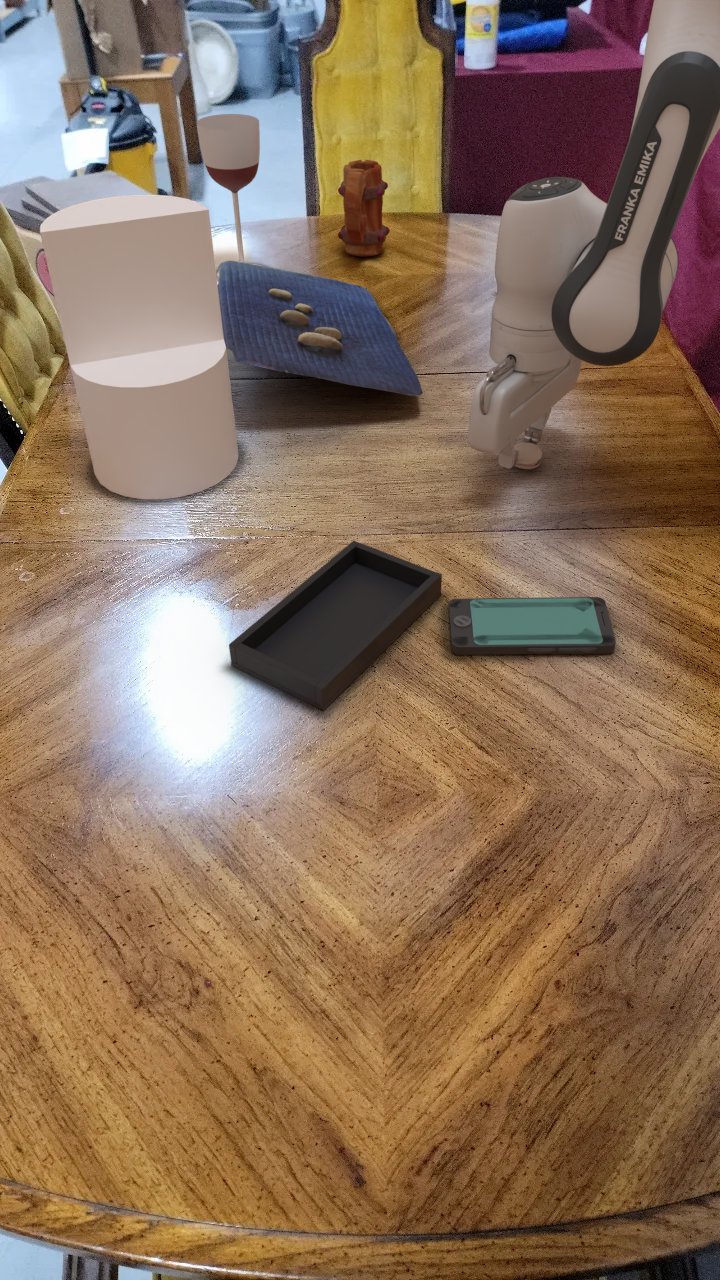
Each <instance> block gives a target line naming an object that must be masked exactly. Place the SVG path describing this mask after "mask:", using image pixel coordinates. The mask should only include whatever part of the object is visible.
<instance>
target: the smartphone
mask: <svg viewBox="0 0 720 1280" xmlns="http://www.w3.org/2000/svg"><path fill="white" fill-rule="evenodd" d="M448 618H449V619H448V621H449V632H450V644H451V645H450V647H451V652H452V653H453V654H455V655H458V656H475V655H477V656H478V655H479V656H481V655H482V656H483V655H485V656H487V655H489V656H490V655H493V656H494V655H579V654H580V655H581V654H583V655H584V654H585V655H586V654H587V655H591V654H593V655H594V654H596V655H597V654H600V655H601V654H611V653H614V652H615V649H616V645H617V644H616V643H617V640H616V637H615V633H614V632H615V631H614V629H613V625H612V622H611V618H610V614H609V611H608V606H607V602H606V600H605V599H604V598H602V597H600V596H572V597H571V596H569V597H568V596H566V597H560V596H559V597H558V596H557V597H556V596H555V597H487V598H484V597H483V598H482V597H481V598H479V597H478V598H477V597H476V598H475V597H473V598H452V599H450V600H449V601H448Z"/></svg>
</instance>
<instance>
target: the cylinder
mask: <svg viewBox="0 0 720 1280" xmlns="http://www.w3.org/2000/svg"><path fill="white" fill-rule="evenodd" d="M211 226H212V225H211V218H210V209H209V208H208V207H206V206H205V205H203V204H202V203H201V202H198V201H194V200H192V199H189V198H184V197H179V196H174V195H166V194H165V195H163V194H128V195H127V194H126V195H116V196H109V197H103V198H96V199H91V200H87V201H85V202H79V203H76V204H72V205H70V206H67V207H65V208H62V209H60V210H57V211H56V212H54V213H52V214H51V215H49V216H47V217H46V218H45V219H44V220H43V222H42V223H41V224H40V226H39V236H40V239H41V244H42V249H43V253H44V257H45V262H46V265H47V270H48V274H49V278H50V283H51V287H52V293H53V297H54V301H55V305H56V310H57V314H58V318H59V322H60V327H61V331H62V332H61V333H62V336H63V340H64V345H65V349H66V353H67V354H66V355H67V358H68V363H69V367H70V371H71V376H72V380H73V384H74V385H73V386H74V388H75V394H76V397H77V402H78V406H79V410H80V416H81V419H82V423H83V429H84V434H85V437H86V441H87V446H88V450H89V456H90V459H91V464H92V467H93V472H94V476H95V477H96V479H97V481H98V482H99V484H100V485H101V486H103V487H104V488H105V489H107V491H110V492H111V493H114V494H117V495H120V496H123V497H126V498H133V499H139V500H168V499H174V498H175V499H176V498H183V497H186V496H189V495H193V494H197V493H201V492H203V491H205V490H207V489H209V488H211V487H214V486H216V485H217V484H219V483H220V482H222V481H223V480H225V479H226V478H227V477H228V476H230V475H231V473H232V472H233V471H234V470H235V468H236V467H237V464H238V460H239V457H240V456H239V455H240V454H239V446H238V437H237V429H236V421H235V412H234V405H233V404H234V403H233V396H232V395H233V394H232V386H231V376H230V369H229V359H228V351H227V348H226V345H225V342H224V336H223V328H222V319H221V311H220V302H219V294H218V276H217V270H216V269H217V268H216V262H215V261H216V260H215V254H214V253H215V252H214V244H213V235H212V227H211Z"/></svg>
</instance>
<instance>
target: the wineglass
mask: <svg viewBox="0 0 720 1280" xmlns="http://www.w3.org/2000/svg"><path fill="white" fill-rule="evenodd" d="M196 129H197V136H198V141H199V146H200V147H199V148H200V152H201V155H202V159H203V163H204V166H205V168H206V171H207V173H208V176H209V177H210V178H211V179H212V180H213V181H214V183H216V184H218V185H219V186H221V187H223V188H225V189H226V190H228V191H229V192H231V195H232V206H233V207H232V208H233V215H234V223H235V224H234V226H235V234H236V235H235V236H236V245H237V255H238V262H243V263H245V255H244V243H243V233H242V224H241V215H240V204H239V193H238V192H239V191H240V190H243V188H245V187H247V186H248V185H249V184H251V183H252V182H253V181H254V180H255V178H256V176H257V173H258V170H259V165H260V153H261V151H260V150H261V146H260V145H261V144H260V143H261V141H260V139H261V137H260V135H261V134H260V120H259V118H257V117H255V116H253V115H248V114H243V113H242V114H241V113H223V114H222V113H221V114H213V115H209V116H204V117H201V118H199V119H198V120H196ZM252 264H253V265H259V266H262V264H257V263H252ZM216 277H217V279H219V270H218V271H217V272H216Z"/></svg>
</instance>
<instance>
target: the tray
mask: <svg viewBox="0 0 720 1280" xmlns="http://www.w3.org/2000/svg"><path fill="white" fill-rule="evenodd" d="M442 580H443V574H442V573H439V572H437V571H434V570H431V569H429V568H426V567H424V566H422V565H419V564H416V563H413V562H411V561H408V560H405V559H404V558H403V559H402V558H400V557H398V556H395V555H392V554H390V553H387V552H384V551H383V550H379V549H377V548H375V547H372V546H369V545H367V544H365V543H362V542H359V541H356V540H352V541H351V542H350V543H349V544H347V546H344V548H343V549H341V550H340V551H339V552H338V553H337V554H336V555H334V556H333V557H332V558H330V559H329V560H328V561H327V562H326V563H325V564H324V565H323V566H321V567H320V568H319V569H317V571H315V572H314V573H312V574H311V575H310V576H309V577H308V578H307V579H306V580H304V581H303V582H302V583H301V584H299V586H297V587H295V589H294V590H292V591H291V592H290V593H289V594H288V595H286V596H285V597H284V598H283V599H281V600H280V601H279V602H278V603H277V604H276V605H274V606H273V607H272V608H271V609H269V611H267V612H266V613H265V614H264V615H263V616H261V617H260V618H259V619H258V620H256V621H255V622H253V624H252V625H250V626H249V627H248V628H246V629H245V630H244V631H243V632H242V633H241V634H240V635H238V636H237V637H236V638H234V640H232V641H231V642H229V644H228V649H229V658H230V664H231V665H230V666H231V667H233V668H235V669H237V670H239V671H242V672H243V673H245V674H247V675H250V676H252V677H253V678H255V679H258V680H259V681H262V682H264V683H266V684H268V685H271V686H272V687H274V688H276V689H278V690H281V691H282V692H284V693H287V694H289V695H291V696H292V697H295V698H297V699H299V700H301V701H303V702H305V703H307V704H309V705H311V706H313V707H314V708H317V709H319V710H322V711H325V710H326V709H327V708H328V707H329V706H330V705H331V704H332V703H333V702H334V701H335V700H336V699H337V698H338V697H339V696H340V695H341V694H342V693H343V692H345V690H346V689H347V688H348V687H349V686H350V685H352V683H353V682H354V681H355V680H357V678H358V677H360V675H362V674H363V673H364V671H366V669H368V668H369V667H370V666H371V665H372V664H373V663H374V662H375V661H376V660H377V659H378V658H379V657H380V656H381V655H382V654H383V653H384V652H385V651H386V650H387V649H388V648H389V647H390V646H391V645H392V644H393V643H394V642H395V641H396V640H397V639H398V638H399V637H400V636H401V635H402V634H403V633H404V632H405V631H406V630H407V629H408V628H409V627H410V626H411V625H413V623H414V622H415V621H416V620H417V619H418V618H420V617H421V616H422V615H423V614H424V613H425V612H426V610H428V609H429V608H430V607H431V606H432V605H433V604H434V603H435V602H436V601H437V600H438V599H439V598H440V597H441V596H442V585H443V584H442Z"/></svg>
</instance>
